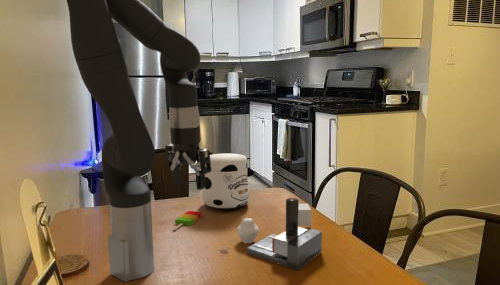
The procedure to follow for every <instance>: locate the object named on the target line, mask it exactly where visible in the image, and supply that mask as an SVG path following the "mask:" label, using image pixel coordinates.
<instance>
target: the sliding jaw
mask: <svg viewBox="0 0 500 285" xmlns="http://www.w3.org/2000/svg"><path fill="white" fill-rule="evenodd" d="M299 201H300V200H299V199H298V198H295V197H292V198H291V197H288V198H286V199H285V230H284V231H283V232H281V233H279V234H276V235H277V236H275V237H273V238H272V252H274V253H276V254H279V255H282V256H285V257H287V244H288V243H290V242H291V241H293V240H294V239H296V238H298V237H299V236H301V235H303V234H304V233H306V232H307V231H309V228H301V227H298V206H299V204H300V203H299Z"/></svg>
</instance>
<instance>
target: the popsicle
mask: <svg viewBox="0 0 500 285" xmlns="http://www.w3.org/2000/svg"><path fill="white" fill-rule="evenodd" d="M200 217H201V218H202V212H201V211H195V210H188V211H186V212H184V213H182V214H181V215H180V216H178V217H177V218H176V219H175V221H174V222H175V223H174V224H175V225H176V226H175V227H174V228H172V231H177V230H179V228H181V227H182V226H189V227H190V226H192V225H193V224H194V223H195V222H197V221H199V219H200Z"/></svg>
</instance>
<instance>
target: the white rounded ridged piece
mask: <svg viewBox="0 0 500 285" xmlns="http://www.w3.org/2000/svg"><path fill="white" fill-rule="evenodd" d="M259 229H260V228H259V227H258V225H257V224H256V223H255V221H254V219H253V218H251V217H245V218H243V219H242V220H241V223H240V224H239V225H238V226H237V228H236V231H237V232H236V233H237V234H238V236H239V239H240V240H241V242H242V243H243V242H244V244H246V243H249V244H253V243H254V242H255V240H256V238H257V236H258V233H259V231H260V230H259ZM252 242H253V243H252Z"/></svg>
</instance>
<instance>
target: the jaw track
mask: <svg viewBox="0 0 500 285" xmlns="http://www.w3.org/2000/svg"><path fill="white" fill-rule="evenodd" d="M277 235H278V234H276V233H271V234H269V235H268V236H266V237H264V238H262V239H261V240H258V241H257V242H255V243H252V245H250V246H248V247H246V253H247V254H248V253H249V255H251V254H252V255H251V256H254V255H255V257H257V256H258V257H257V258H260V257H261V258H260V259H263V258H264V259H263V260H265V259H267V260H266V261H268V260H270V261H269V262H271V261H273V262H272V263H274V262H275V264H277V263H279V264H278V265H280V264H281V265H280V266H283V265H284V266H283V267H286V266H287V267H286V268H288V267H290V268H289V269H291V268H292V269H291V270H294V269H295V271H299V270H301V269H302V268H304V267H305V266H306V265H307V264H309V263H310V262H311V261H312V260H311V259H313V258H314V257H315V256H316V255H318V254H319V253H320V252H321V253H322V247H323V246H322V241H323V231H322V230H318V229H315V228H310V229H308V231H307V232H306V233H304V234H303V235H301V236H299V237H298V238H296V239H294V240H293V241H291V242H290V243H288V244H287V257H285V256H282V255H279V254H276V253H274V252H272V238H273V237H275V236H277ZM319 255H320V254H319ZM319 255H318V256H319ZM315 258H316V257H315ZM315 258H314V259H315ZM314 259H313V260H314ZM310 260H311V261H310ZM309 261H310V262H309ZM308 262H309V263H308ZM306 263H307V264H306ZM305 264H306V265H305ZM304 265H305V266H304ZM300 268H301V269H300Z"/></svg>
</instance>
